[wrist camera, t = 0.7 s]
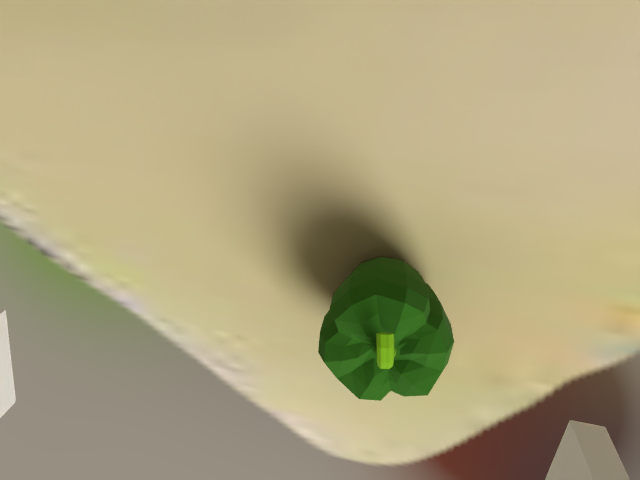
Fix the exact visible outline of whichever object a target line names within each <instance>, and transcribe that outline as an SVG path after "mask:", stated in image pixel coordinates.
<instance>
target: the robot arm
mask: <svg viewBox="0 0 640 480" xmlns="http://www.w3.org/2000/svg"><path fill="white" fill-rule="evenodd" d="M15 402H16V399H15V391H14V383H13V372H12V363H11V355H10V345H9V336H8V328H7V318H6V310H4V309H0V418H1V417H2V415H4V413H5V412H6V411H7V410H8V409H9V408H10V407H11V406H12V405H13V404H14V403H15ZM545 480H630V479H629V477H628V475H627V473H626V471H625V469H624V466H623V464H622V462H621V460H620V458H619V456H618V454H617V451H616V450H615V447H614V445H613V443H612V441H611V439H610V436H609V434H608V432H607V430H606V428H605V427H603V426H597V425H592V424H587V423H582V422H577V421H572V420H570V421H569V424H568V426H567V428H566V431H565V433H564V436H563V438H562V440H561V443H560V445H559V448H558V450H557V452H556V455H555V458H554V460H553V462H552V465H551V467H550V469H549V472H548V474H547V477H546V479H545Z"/></svg>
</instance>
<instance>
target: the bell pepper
mask: <svg viewBox="0 0 640 480" xmlns="http://www.w3.org/2000/svg"><path fill="white" fill-rule="evenodd" d="M453 343H454V339H453V334H452V329H451V324H450V322H449V320H448V318H447V316H446V313H445V311H444V309H443V307H442V305H441V303H440V301H439V300H438V298H437V296H436V295H435V293H434V291H433V290H432V289H431V288H430V286H429V285H428V284H426V283H425V282H424V280H423V278H422V277H421V275H420V274H419V273H418V272H417V271H416V270H415V269H413V268H412V267H411V266H409V265H408V264H407V263H405V262H404V261H403V260H398V259H392V258H385V257H378V258H375V259H371V260H368V261H365V262H362V263H361V264H360V265H359V266H358V267H357V268H356V269H355V270H354V271H353V272H352V273H351V274H350V276H349V277H348V278H347V279H346V280H345V281H344V282H343V283H342V284H341V285H340V287H339V288H338V289H337V290H336V292H335V293H334V295H333V299H332V302H331V306H330V310H329V311H328V313H327V314H326V316H325V317H324V320H323V324H322V327H321V331H320V340H319V351H318V352H319V354H320V356H321V358H322V359H323V361H324V363H325V364H326V365H327V366H328V368H329V369H330V370H331V371H332V373H333V374H334V375H335V376H336V378H337V379H338V380H339V381H340V382H341V383H343V384H344V385H345V386H346V387H347V388H348V389H349V390H350V391H351V392H352V393H353V394H354V395H355V396H357V397H358V398H359V399H367V400H382V399H383V398H384V397H385V396H386V395H387V394H388V393H389V392H390V391H393V392H395V393H398V394H400V395H402V396H421V395H428V394H429V392H430V390H431V389H432V387H433V386H434V384H435V383H436V381H437V379H438V378H439V376H440V375H441V373H442V371H443V370H444V368H445V367H446V365H447V363H448V360H449V357H450V353H451V350H452V346H453Z"/></svg>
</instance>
